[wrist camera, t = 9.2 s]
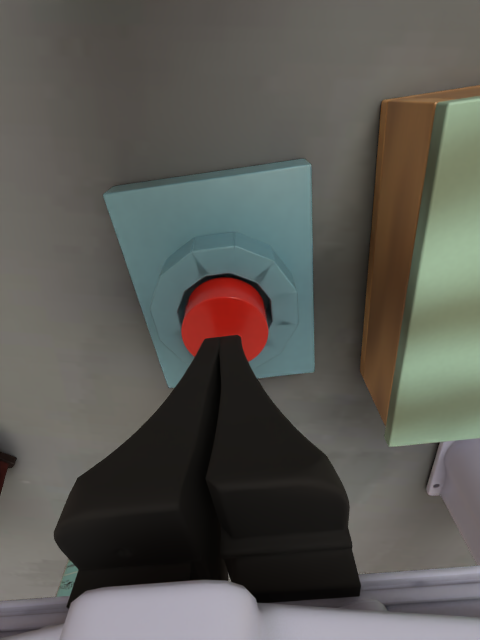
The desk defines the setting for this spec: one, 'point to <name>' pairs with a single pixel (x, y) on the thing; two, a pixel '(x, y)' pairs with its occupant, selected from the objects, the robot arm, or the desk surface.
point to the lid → (443, 292)
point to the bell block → (223, 254)
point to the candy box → (395, 230)
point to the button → (225, 315)
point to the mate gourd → (5, 466)
